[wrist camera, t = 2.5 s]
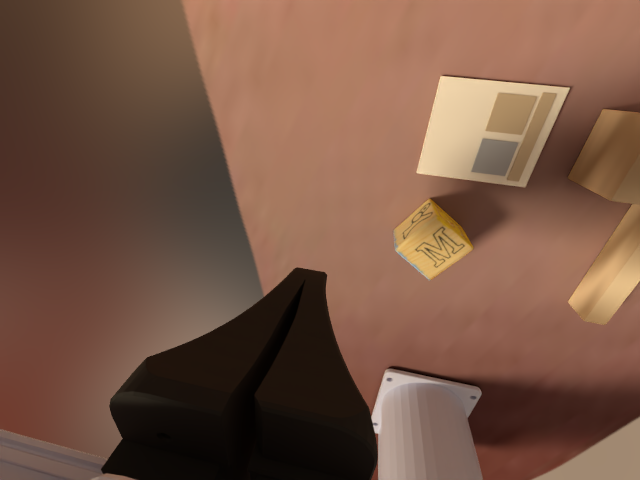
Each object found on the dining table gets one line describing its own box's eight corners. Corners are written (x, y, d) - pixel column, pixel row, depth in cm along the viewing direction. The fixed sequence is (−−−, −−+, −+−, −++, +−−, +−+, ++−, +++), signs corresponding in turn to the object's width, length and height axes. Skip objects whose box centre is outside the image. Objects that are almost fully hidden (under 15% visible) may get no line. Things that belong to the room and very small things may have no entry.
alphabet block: (391, 228, 19) (393, 251, 17) (428, 195, 18) (437, 215, 15) (424, 256, 20) (430, 282, 17) (462, 226, 18) (476, 250, 16)
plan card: (523, 186, 17) (526, 187, 16) (416, 172, 17) (416, 173, 17) (567, 87, 14) (571, 87, 14) (440, 75, 15) (441, 76, 15)
